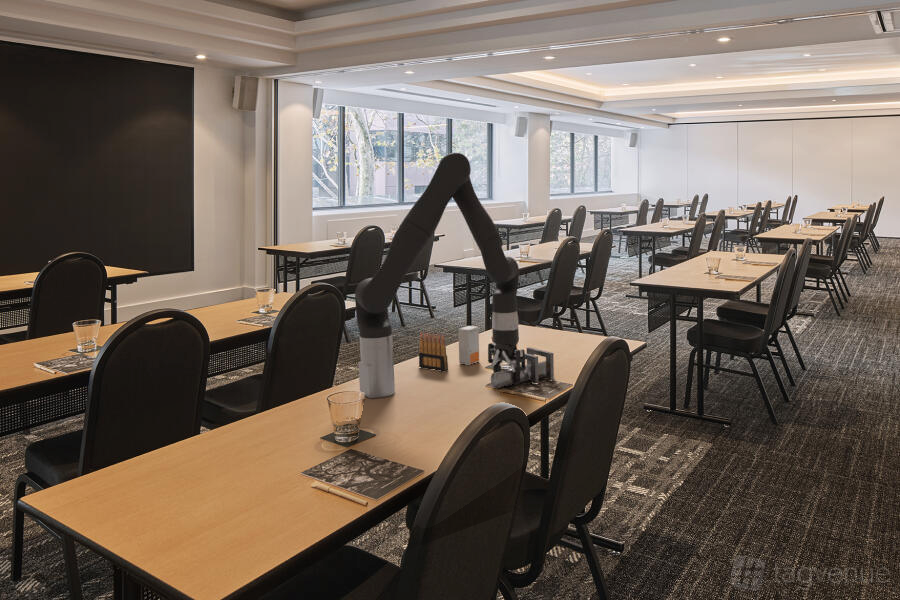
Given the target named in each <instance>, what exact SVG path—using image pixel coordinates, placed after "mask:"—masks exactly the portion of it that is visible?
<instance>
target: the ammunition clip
mask: <svg viewBox="0 0 900 600" xmlns="http://www.w3.org/2000/svg"><path fill="white" fill-rule="evenodd" d="M448 363H449V362H448V355H447V346H446V339H445V335H444V334H443V333H442V335H441V336H440V334H439V333H437V336H436V334H435V332H434V333H432V334H431V332H429V333H428V334H427V332H426V331H425V332H424V334H423V331H420V334H419V352H418V368H419V367H421V368H420V369H423V368H428V369H427V370H429V369H435V370H441V371H440V372H442V371H446V370H448V371H449V364H448ZM435 370H434V371H435ZM446 372H447V371H446Z"/></svg>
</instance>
